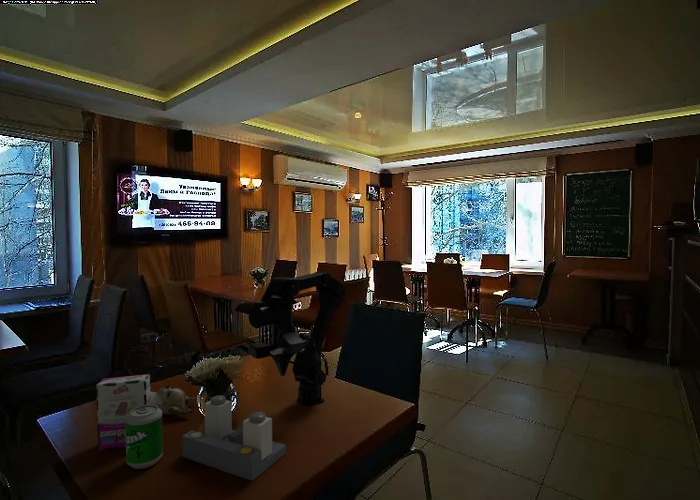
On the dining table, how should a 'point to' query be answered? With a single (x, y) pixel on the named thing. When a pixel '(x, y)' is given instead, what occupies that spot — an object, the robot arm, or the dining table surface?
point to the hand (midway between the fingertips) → (282, 375)
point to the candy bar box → (118, 407)
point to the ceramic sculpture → (172, 401)
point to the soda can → (144, 436)
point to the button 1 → (218, 417)
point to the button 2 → (258, 433)
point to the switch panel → (229, 453)
